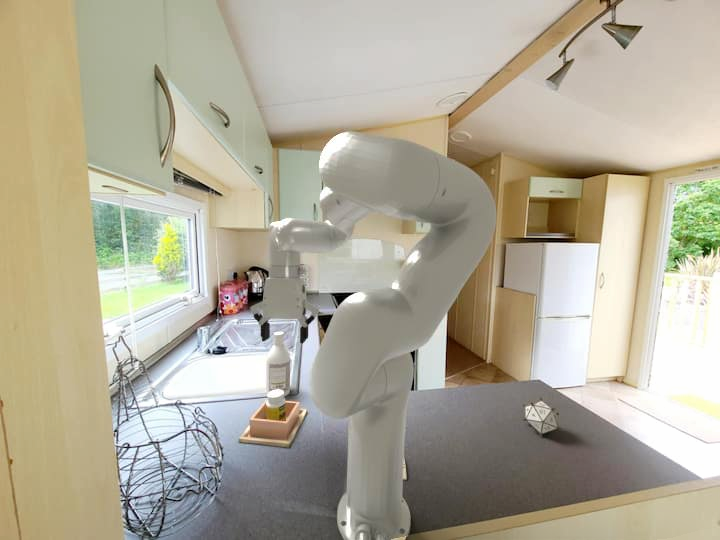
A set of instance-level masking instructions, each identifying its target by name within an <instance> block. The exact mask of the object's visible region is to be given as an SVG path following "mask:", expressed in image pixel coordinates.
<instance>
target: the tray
mask: <svg viewBox="0 0 720 540" xmlns="http://www.w3.org/2000/svg"><path fill="white" fill-rule="evenodd" d="M307 413H308V409H307V408H300V412H299V418H298V420H297V422H296V424H295V426H294V427H293V429H292V431H291V433H290V435H289V436H288V438H287V439H277V438H267V437H258V436H250V424H249V425H248V426H247V427H246V428H245V430H244V431H243V432H242V434H241V435H240V436H239V438H238V443H244V444H254V445H265V446H271V447H280V448H281V447H283V448H290V446H291V444H292V442H293V441H294V438H295V437H296V435H297V433H298V431H299V429H300V427H301V425H302V423H303V422H304V419H305V417H306V415H307ZM287 418H288V417H286V420H287ZM265 420H267V417H266V418H265Z"/></svg>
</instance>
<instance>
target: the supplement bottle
mask: <svg viewBox="0 0 720 540" xmlns="http://www.w3.org/2000/svg"><path fill="white" fill-rule="evenodd" d="M266 396H267V399H268V401H267V403H266V413H267V420H276V421H286V401H287V400H286V398H285V396H284V391H283V390H279V389H278V390H272V391H270V392H269V393H268V395H267V394H266Z"/></svg>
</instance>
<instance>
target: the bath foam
mask: <svg viewBox="0 0 720 540" xmlns="http://www.w3.org/2000/svg"><path fill="white" fill-rule="evenodd" d="M284 335H285V333H284V332H283V331H276V332H273V345H272V347H271V348H270V350H269V352H268V354H267V357H266V396H267V395H268V393H269V392H270V391H272V390H278V389H279V390H283V391H284V397H286V396H288V395H289V394H290V393H291V392H290V391H291V356H290V355H291V354H290V351H289V350H288V348H287V347H286V345H285V344H284V342H285V341H284V340H285V338H284Z"/></svg>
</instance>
